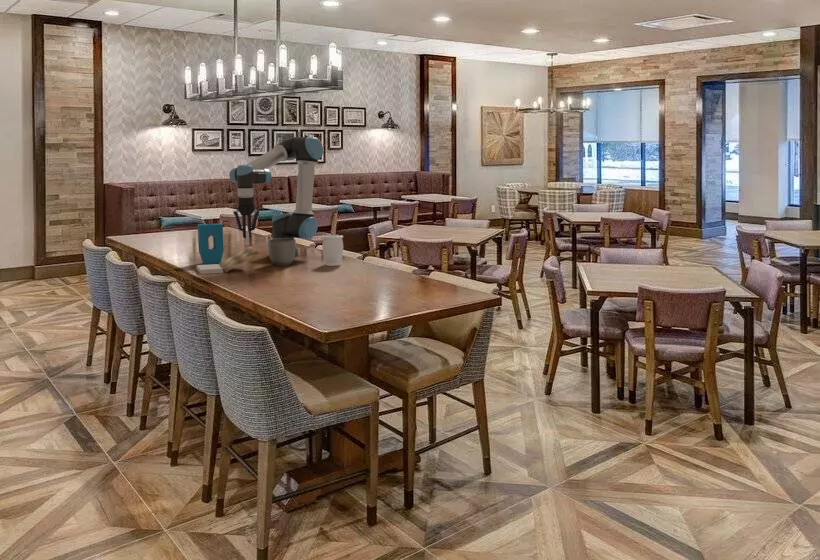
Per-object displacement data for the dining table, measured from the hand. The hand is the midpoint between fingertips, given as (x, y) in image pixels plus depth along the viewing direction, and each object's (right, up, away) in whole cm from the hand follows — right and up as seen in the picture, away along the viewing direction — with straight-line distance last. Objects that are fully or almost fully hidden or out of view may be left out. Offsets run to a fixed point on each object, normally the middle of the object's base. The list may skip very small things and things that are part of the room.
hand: (247, 244), depth 379 cm
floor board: (-16, -13, -9) cm, 23 cm away
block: (-22, -9, +15) cm, 28 cm away
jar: (+41, -10, +11) cm, 44 cm away
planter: (+16, -10, +10) cm, 21 cm away
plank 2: (-1, -9, -8) cm, 12 cm away
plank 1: (-5, -7, -1) cm, 9 cm away
